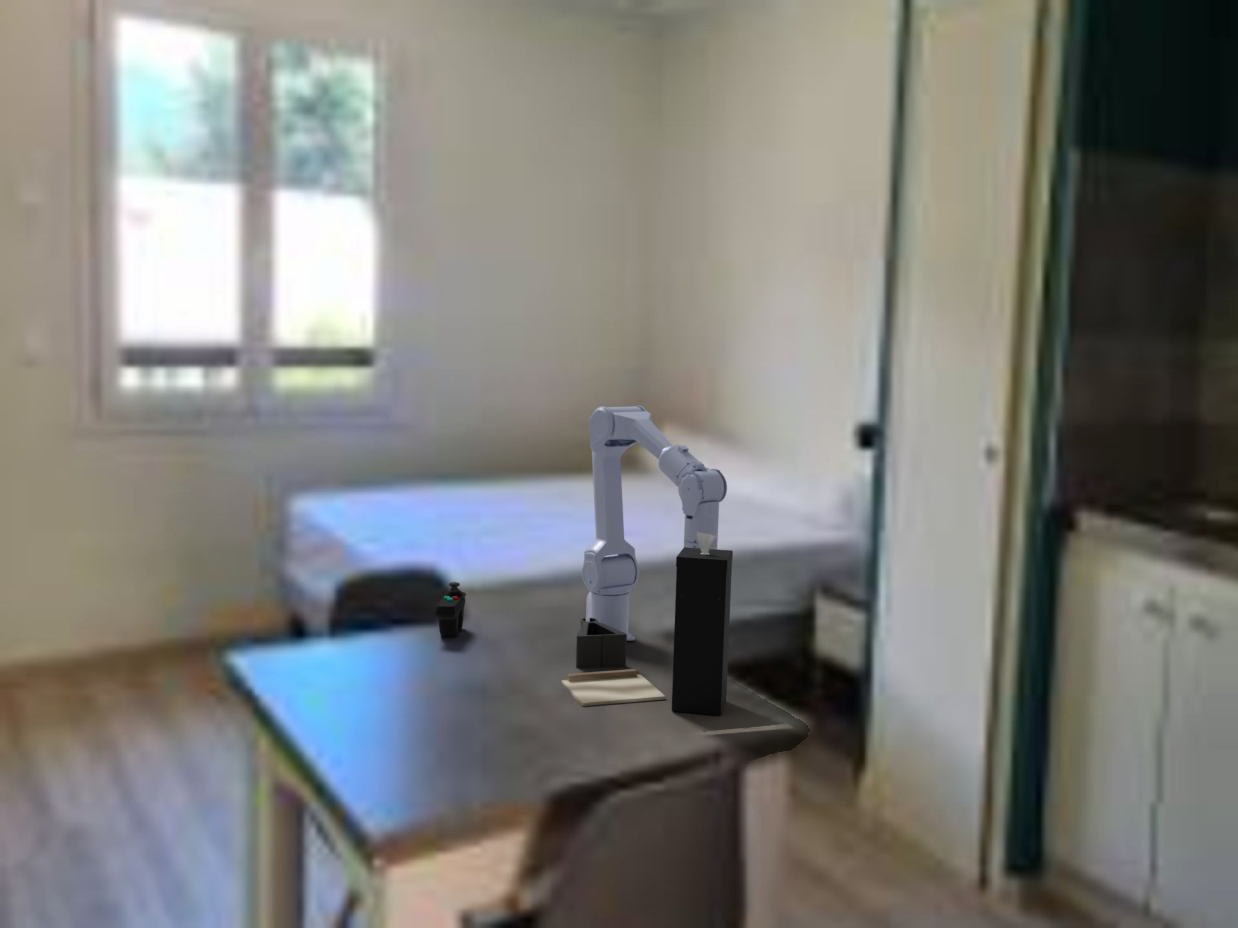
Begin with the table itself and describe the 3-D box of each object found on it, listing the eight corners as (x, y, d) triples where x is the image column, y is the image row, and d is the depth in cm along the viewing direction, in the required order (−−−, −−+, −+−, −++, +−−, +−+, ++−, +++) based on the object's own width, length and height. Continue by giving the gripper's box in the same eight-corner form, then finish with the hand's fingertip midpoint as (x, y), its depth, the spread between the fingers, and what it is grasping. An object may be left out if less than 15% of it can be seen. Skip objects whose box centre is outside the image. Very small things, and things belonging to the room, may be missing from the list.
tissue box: (721, 716, 182) (728, 538, 178) (670, 711, 184) (676, 535, 180) (726, 700, 190) (733, 530, 186) (678, 696, 191) (684, 526, 188)
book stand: (561, 682, 196) (561, 674, 196) (640, 677, 201) (640, 668, 201) (582, 706, 185) (582, 696, 185) (665, 699, 190) (665, 690, 189)
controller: (467, 631, 227) (468, 580, 226) (455, 649, 215) (456, 595, 213) (445, 630, 227) (445, 579, 226) (432, 648, 215) (432, 594, 213)
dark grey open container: (626, 667, 206) (610, 648, 218) (627, 633, 205) (610, 616, 217) (576, 669, 204) (562, 650, 216) (576, 636, 203) (563, 618, 215)
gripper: (663, 533, 206) (661, 609, 208) (695, 549, 192) (692, 630, 194) (700, 532, 208) (698, 606, 210) (734, 548, 195) (731, 627, 196)
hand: (697, 618), depth 202 cm, fingers closed
